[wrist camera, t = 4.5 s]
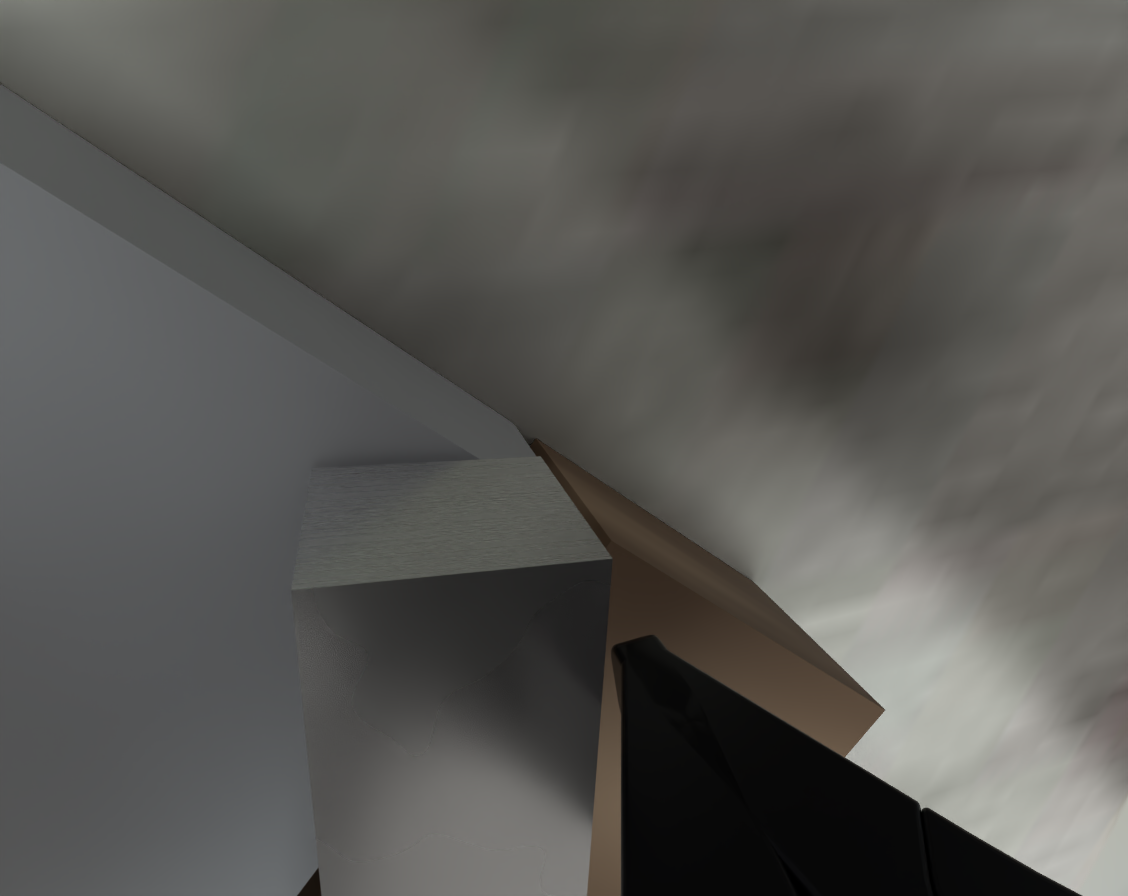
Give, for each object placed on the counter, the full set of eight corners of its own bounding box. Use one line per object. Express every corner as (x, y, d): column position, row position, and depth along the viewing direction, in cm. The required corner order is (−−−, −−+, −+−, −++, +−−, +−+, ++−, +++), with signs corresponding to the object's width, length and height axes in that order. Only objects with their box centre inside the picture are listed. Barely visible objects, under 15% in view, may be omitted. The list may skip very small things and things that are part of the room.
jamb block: (431, 983, 16) (453, 1213, 12) (175, 925, 13) (108, 1193, 10) (754, 582, 15) (885, 709, 11) (536, 438, 12) (610, 540, 9)
